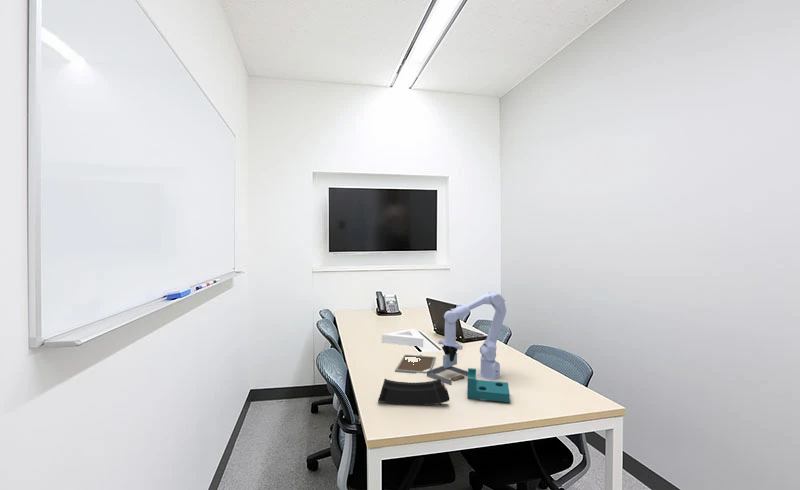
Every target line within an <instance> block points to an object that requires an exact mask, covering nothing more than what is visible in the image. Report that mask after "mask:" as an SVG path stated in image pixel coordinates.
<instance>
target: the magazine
mask: <svg viewBox="0 0 800 490" xmlns="http://www.w3.org/2000/svg"><path fill="white" fill-rule="evenodd" d="M450 399H451V398H450V395H449V392H448V389H447V387H446V384H445V383H444V382H441V380H440V379H439V380H436V379H433V380H429V381H420V382H419V381H418V382H407V381H395V380H390V379H387V378H384V380H383V384H382V385H381V390H380V394H379V396H378V400H377V401H378V402H382V403H388V404H394V405H401V406H402V405H403V406H418V407H419V406H420V407H421V406H430V405H439V406H442V404H443V403H448V402H449V401H450Z"/></svg>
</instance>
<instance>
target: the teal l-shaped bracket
mask: <svg viewBox="0 0 800 490" xmlns="http://www.w3.org/2000/svg"><path fill="white" fill-rule="evenodd" d="M467 371H468V376H467V385H466V386H467V388H466V389H467V394H466V395H467V396H466V397H467V399H473V400H474V399H475V400H481V401H492V402H493V401H495V402H503V403H511V402H510V401H511V400H510V399H511V398H510V395H511V394H510V389H509V388H510V387H509V384H508V382H505V381H494V380H485V379H484V380H482V379H480V380H479V379H477V368H474V367H473V368H472V367H468V368H467Z"/></svg>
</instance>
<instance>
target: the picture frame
mask: <svg viewBox="0 0 800 490" xmlns="http://www.w3.org/2000/svg"><path fill="white" fill-rule="evenodd" d="M405 357H416V358H420V359H421V360H420V361H419V359H418V362H414V363H413V362H411V361H410V362H408V359H407V360H405ZM436 358H437V357H436V356H429V355H428V356H427V355H422V354H420V355H418V354H417V355H413V354H404V355H403V357H402V358H401V360H400V361H399V363H398V364H397V366H396V368H395V370H394V372H395V373H403V374H404V373H406V374H414V373H415V374H426V375H427V371H428V370H432V369H434V365H435V361H436V360H437V359H436ZM413 364H414V365H413Z"/></svg>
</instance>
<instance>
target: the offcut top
mask: <svg viewBox="0 0 800 490" xmlns="http://www.w3.org/2000/svg"><path fill="white" fill-rule="evenodd" d="M464 379H465V375H463V374H460V375H459V374H458V375H455V376H453V377H450V380H452V382H456V381H460V380H464Z"/></svg>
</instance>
